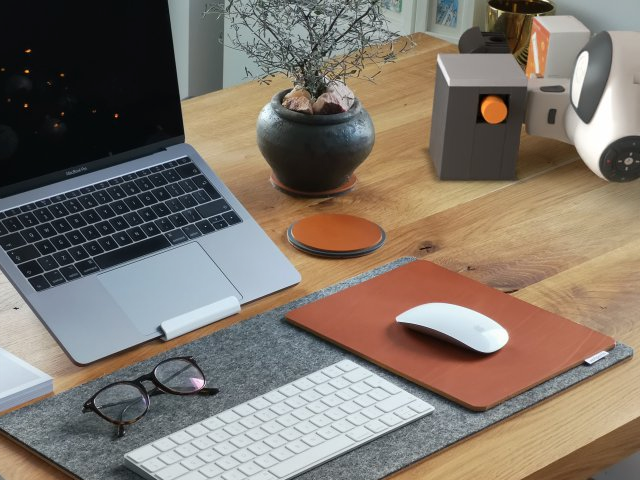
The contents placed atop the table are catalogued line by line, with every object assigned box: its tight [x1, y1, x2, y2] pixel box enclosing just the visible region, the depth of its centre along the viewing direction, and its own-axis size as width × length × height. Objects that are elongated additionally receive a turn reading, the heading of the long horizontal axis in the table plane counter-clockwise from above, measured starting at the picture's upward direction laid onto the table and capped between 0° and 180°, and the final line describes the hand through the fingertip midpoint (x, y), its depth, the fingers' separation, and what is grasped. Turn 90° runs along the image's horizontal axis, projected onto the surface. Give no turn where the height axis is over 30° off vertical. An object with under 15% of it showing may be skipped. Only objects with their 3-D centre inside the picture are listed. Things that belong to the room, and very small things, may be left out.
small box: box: [525, 14, 592, 78], centre depth 167 cm, size 8×6×13 cm
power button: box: [480, 94, 507, 124], centre depth 143 cm, size 3×3×3 cm
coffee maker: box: [428, 53, 529, 181], centre depth 148 cm, size 10×10×14 cm
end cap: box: [457, 25, 511, 54], centre depth 181 cm, size 10×7×7 cm
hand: (567, 78), depth 161 cm, fingers open, 8 cm apart
